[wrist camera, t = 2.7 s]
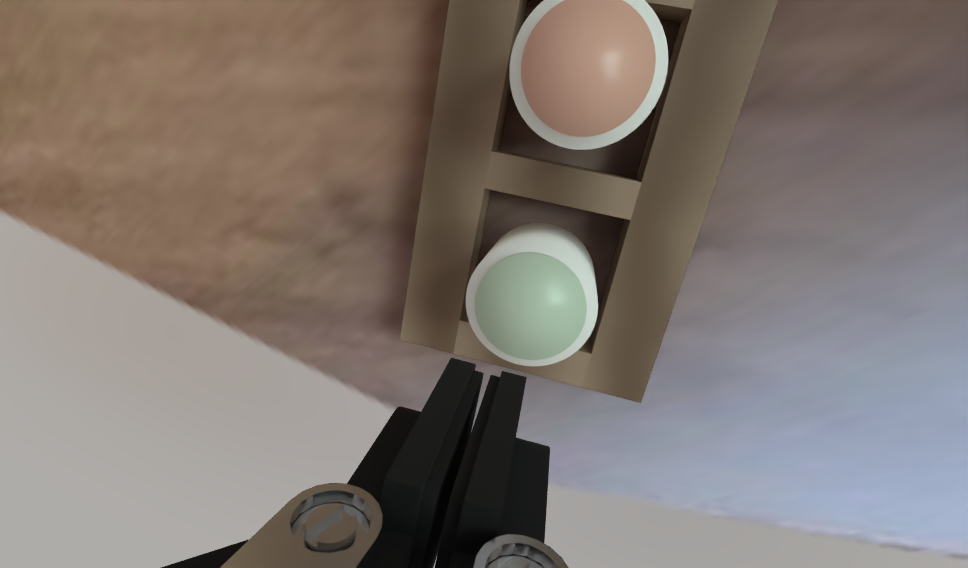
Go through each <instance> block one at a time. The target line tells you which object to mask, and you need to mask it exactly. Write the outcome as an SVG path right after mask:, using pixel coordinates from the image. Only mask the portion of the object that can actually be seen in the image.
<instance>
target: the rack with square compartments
mask: <svg viewBox="0 0 968 568" xmlns="http://www.w3.org/2000/svg"><path fill="white" fill-rule="evenodd" d="M527 1H528V0H449V6H448V13H447V20H446V27H445V34H444V41H443V47H442V54H441V61H440V68H439V75H438V82H437V89H436V95H435V102H434V109H433V116H432V123H431V130H430V136H429V143H428V150H427V157H426V164H425V171H424V178H423V184H422V191H421V198H420V205H419V212H418V219H417V225H416V232H415V239H414V246H413V253H412V260H411V266H410V273H409V280H408V287H407V294H406V301H405V308H404V314H403V321H402V328H401V335H400V340H404V341H407V342H411V343H415V344H419V345H423V346H426V347H430V348H434V349H438V350H442V351H445V352H449V353H453V354H457V355H461V356H464V357H468V358H472V359H476V360H480V361H483V362H487V363H491V364H495V365H499V366H502V367H506V368H510V369H514V370H518V371H521V372H525V373H529V374H533V375H537V376H540V377H544V378H548V379H552V380H556V381H559V382H563V383H567V384H571V385H575V386H578V387H582V388H586V389H590V390H594V391H597V392H601V393H605V394H609V395H613V396H616V397H620V398H624V399H628V400H632V401H635V402H639V403H641V401H642V398H643V395H644V392H645V389H646V386H647V383H648V380H649V377H650V374H651V371H652V368H653V366H654V363H655V360H656V357H657V354H658V351H659V348H660V345H661V342H662V339H663V336H664V333H665V330H666V327H667V325H668V322H669V319H670V316H671V313H672V310H673V307H674V304H675V301H676V298H677V295H678V292H679V289H680V287H681V284H682V281H683V278H684V275H685V272H686V269H687V266H688V263H689V260H690V257H691V254H692V251H693V248H694V246H695V243H696V240H697V237H698V234H699V231H700V228H701V225H702V222H703V219H704V216H705V213H706V210H707V207H708V205H709V202H710V199H711V196H712V193H713V190H714V187H715V184H716V181H717V178H718V175H719V172H720V169H721V166H722V164H723V161H724V158H725V155H726V152H727V149H728V146H729V143H730V140H731V137H732V134H733V131H734V128H735V125H736V123H737V120H738V117H739V114H740V111H741V108H742V105H743V102H744V99H745V96H746V93H747V90H748V87H749V84H750V82H751V79H752V76H753V73H754V70H755V67H756V64H757V61H758V58H759V55H760V52H761V49H762V46H763V43H764V41H765V38H766V35H767V32H768V29H769V26H770V23H771V20H772V17H773V14H774V11H775V8H776V5H777V2H778V0H645V1H646V2H647V3H648V4H649V6H650V7H651V8H652V9H653V11H654V12H655V14H656V15H657V17H658V18H659V19H665V20H671V21H677V22H681V24H680V28H679V31H678V35H677V38H676V42H675V45H674V48H673V52H672V55H671V59H670V62H669V66H668V69H667V75H666V80H665V84H664V87H663V90H662V92H661V95H660V97H659V101H658V104H657V108H656V111H655V115H654V118H653V122H652V125H651V128H650V132H649V135H648V139H647V142H646V146H645V149H644V153H643V156H642V160H641V163H640V167H639V170H638V174H637V177H636V179H635V178H630V177H625V176H620V175H615V174H611V173H606V172H601V171H596V170H591V169H586V168H582V167H577V166H572V165H567V164H562V163H557V162H553V161H548V160H543V159H538V158H533V157H528V156H524V155H519V154H514V153H509V152H504V151H499V146H500V141H501V136H502V131H503V126H504V121H505V115H506V110H507V105H508V100H509V95H510V89H511V86H510V77H509V74H510V59H511V53H512V50H513V46H514V43H515V40H516V37H517V35H518V33H519V31H520V29H521V27H522V25H523V22H524V17H525V11H526V6H527ZM491 190H494V191H499V192H504V193H508V194H513V195H517V196H522V197H527V198H531V199H536V200H540V201H545V202H550V203H554V204H559V205H563V206H568V207H573V208H577V209H582V210H586V211H591V212H596V213H600V214H605V215H609V216H614V217H618V218H623V219H624V222H623V226H622V229H621V233H620V236H619V240H618V243H617V247H616V250H615V254H614V257H613V261H612V264H611V268H610V271H609V275H608V278H607V281H606V285H605V288H604V292H603V295H602V299H601V302H600V306H599V309H598V315H597V319H596V323H595V326H594V329H593V331H592V334H591V337H589V338H588V339H587V341H586V342H585V344H584V345H583V346H582V347H581V348H580V349H579V350H578V351H576V352H575V353H574V354H573V355H571V356H569V357H568V358H566V359H564V360H562V361H559V362H557V363H554V364H550V365H545V366H523V365H518V364H515V363H512V362H508V361H506V360H504V359H502V358H500V357H498V356H497V355H495V354H494V353H492V352H491V351H490V350H489V349H487V348H486V347H485V346H484V345H483V344H482V343H481V341H480V340H479V339H478V338H477V336H476V335H475V333H474V331H473V329H472V327H471V325H470V323H469V319H468V316H467V311H466V291H467V287H468V283H469V281H470V278H471V276H472V274H473V272H474V270H475V269H476V266H477V261H478V255H479V250H480V245H481V240H482V235H483V230H484V224H485V219H486V214H487V209H488V204H489V198H490V193H491Z"/></svg>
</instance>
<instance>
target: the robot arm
mask: <svg viewBox="0 0 968 568" xmlns="http://www.w3.org/2000/svg"><path fill="white" fill-rule="evenodd" d="M475 367H476V364H473V363H469V362H465V361H461V360H458V359H454V358H451V359H450V361H449V363H448V365H447V366H446V368H445V370H444V372H443V374H442V375H441V377H440V379H439V381H438V383H437V384H436V386H435V388H434V390H433V392H432V393H431V395H430V397H429V399H428V401H427V403H426V404H425V406H424V408H423V410H422V412H419V411H416V410H412V409H408V408H404V407H401V406H400V407H398V408H397V409H396V410H395V411H394V413H393V414H392V416H391V417H390V419H389V421H388V422H387V423H386V425H385V427H384V428H383V430H382V431H381V433H380V434H379V436H378V437H377V439H376V440H375V442H374V443H373V445H372V446H371V448H370V449H369V451H368V452H367V454H366V456H365V457H364V459H363V460H362V462H361V463H360V465H359V466H358V468H357V469H356V471H355V472H354V474H353V475H352V477H351V478H350V480H349V482H348V483H347V484H343V483H342V484H341V483H329V484H323V485H317V486H314V487H312V488H310V489H307V490H305V491H302V492H301V493H300V494H298V495H297V496H296V497H294V498H293V499H291V500H290V501H289V502H288V503H287V504H286V505H285V506H284V507H283V508H282V509H281V510H280V511H279V512H278V513H277V514H276V515H274V517H272V519H270V520H269V521H268V522H267V523H266V524H265V525H264V526H263V527H262V528H261V529H260V530H259V531H258V532H257V533H256V534H255V535H254V536H253V537H252V538H251V539H249V540H246V541H243V542H240V543H237V544H233V545H230V546H227V547H224V548H221V549H218V550H215V551H212V552H209V553H205V554H202V555H199V556H196V557H193V558H190V559H187V560H184V561H180V562H177V563H174V564H171V565H168V566H165V567H162V568H433V566H434V563H435V560H436V557H437V560H436V564H435V568H568V566H567V565H566V564H565V562H564V560H563V559H562V558H561V557H560V556H559V555H558V554H557V553H556V552H555V551H554V550H553V549H552V548H551V547H549V546H547V545H546V544H544V537H545V521H546V506H547V489H548V473H549V456H550V448H549V446H545V445H541V444H538V443H534V442H530V441H526V440H523V439H519V438H516V432H517V427H518V421H519V416H520V410H521V405H522V399H523V394H524V388H525V383H526V377H524V376H520V375H516V374H512V373H508V372H504V371H502V373H501V377H497V376H493V375H491V376H490V379H489V382H488V385H487V388H486V391H485V394H484V397H483V400H482V403H481V406H480V409H479V412H478V415H477V418H476V421H475V424H474V426H473V421H474V416H475V412H476V407H477V402H478V398H479V393H480V388H481V384H482V379H483V373H482V372H478V371H475ZM472 426H473V429H472ZM471 430H472V432H471ZM437 554H438V555H437Z"/></svg>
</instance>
